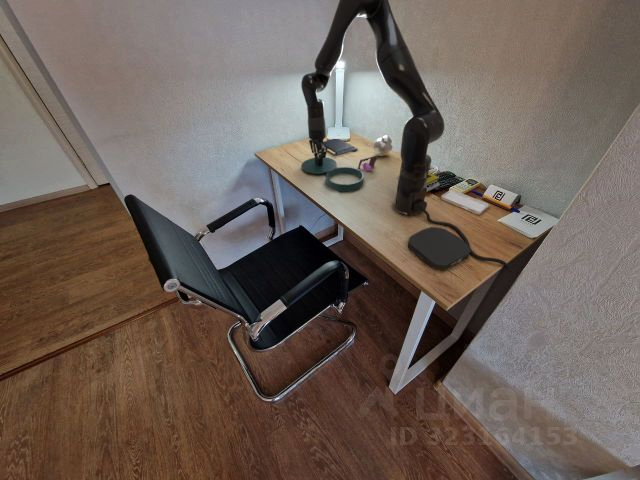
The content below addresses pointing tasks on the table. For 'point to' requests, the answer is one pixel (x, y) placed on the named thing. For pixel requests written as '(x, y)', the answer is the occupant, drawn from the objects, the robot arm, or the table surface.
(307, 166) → the tin lid
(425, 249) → the media streaming box
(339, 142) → the dark notebook
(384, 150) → the ghost figurine
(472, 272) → the table surface
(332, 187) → the tin
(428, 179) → the emergency button
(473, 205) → the phone case
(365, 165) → the purple monster toy
